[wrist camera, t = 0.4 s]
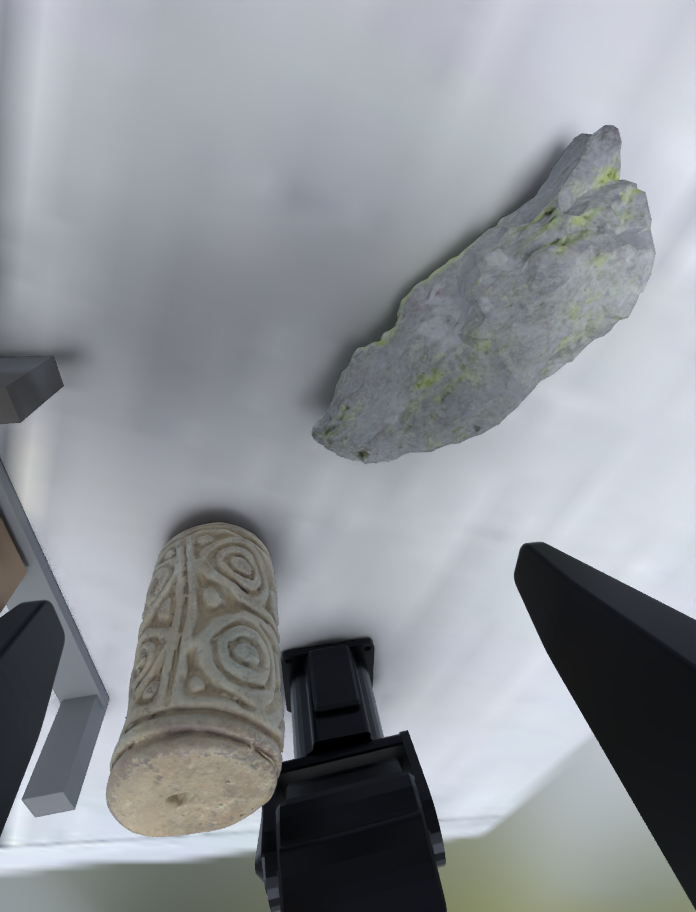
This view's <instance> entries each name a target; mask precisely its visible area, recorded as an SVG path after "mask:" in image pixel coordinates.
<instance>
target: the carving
mask: <svg viewBox="0 0 696 912" xmlns="http://www.w3.org/2000/svg"><path fill="white" fill-rule="evenodd" d="M142 619H143V621H142V623H141V625H140V628H139V634H138V644H137V648H136V654H135V661H134V667H133V670H132V674H131V679H130V686H129V703H128V711H127V717H125V718H126V721H125V724H124V727H123V730H122V732H121V735H120V738H119V742H118V743H117V745H116V747H115V749H114V752H113V755H112V759H111V763H110V776H109V779H108V783H107V788H106V800H107V806H108V808H109V810H110V812H111V813H112V815H113V816H114V818H115V819H116V820H117V821H118V822H119V823H120V824H121V825H122V826H123V827H125V828H126V829H128V830H130V831H132V832H134V833H136V834H140V835H144V836H149V837H164V836H179V835H187V834H194V833H201V832H210V831H214V830H219V829H222V828H226V827H228V826H231V825H233V824H235V823H237V822H239V821H241V820H242V819H244V818H246V817H247V816H249V815H251V814H252V813H254V812H255V811H256V810H257V809H258V808H260V807H261V806H263V805H264V804H265V803H267V802H268V801H269V800H270V799H271V797H272V795H273V793H274V791H275V788H276V785H277V779H278V777H279V775H280V772H281V767H282V755H281V752H282V753H283V748H284V732H285V724H284V719H283V717H284V707H283V700H282V695H281V691H280V689H279V688H280V686H281V677H280V669H279V660H280V649H279V643H280V636H279V632H278V628H277V627H278V623H279V621H278V607H277V588H276V581H275V574H274V568H273V565H272V562H271V557H270V554H269V552H268V550H267V548H266V547H265V545H264V544H263V543H262V542H261V540H260V539H259V538H257V537H256V536H255V535H254V534H253V533H251V532H249V531H247V530H245V529H244V528H242V527H239V526H236V525H232V524H228V523H223V522H214V523H208V524H203V525H199V526H195V527H192V528H189V529H187V530H185V531H183V532H181V533H179V534H177V535H176V536H174V537H173V538H172V539H170V540H169V541H168V542H167V543H166V545H165V546H164V548H163V549H162V550H161V552H160V554H159V557H158V561H157V563H156V565H155V569H154V572H153V576H152V580H151V583H150V586H149V589H148V592H147V597H146V603H145V609H144V612H143V614H142Z"/></svg>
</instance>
